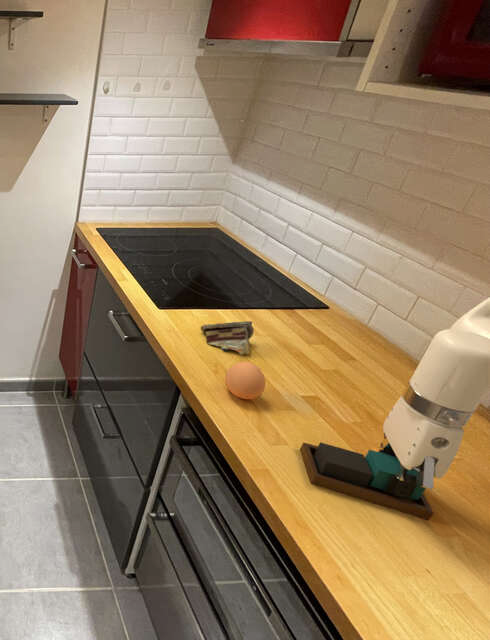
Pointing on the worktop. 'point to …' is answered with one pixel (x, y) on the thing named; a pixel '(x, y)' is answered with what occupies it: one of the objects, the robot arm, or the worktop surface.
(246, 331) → the chocolate cake
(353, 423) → the worktop surface
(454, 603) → the worktop surface
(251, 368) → the egg
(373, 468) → the teal block
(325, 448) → the black rectangular block
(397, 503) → the backing tray
